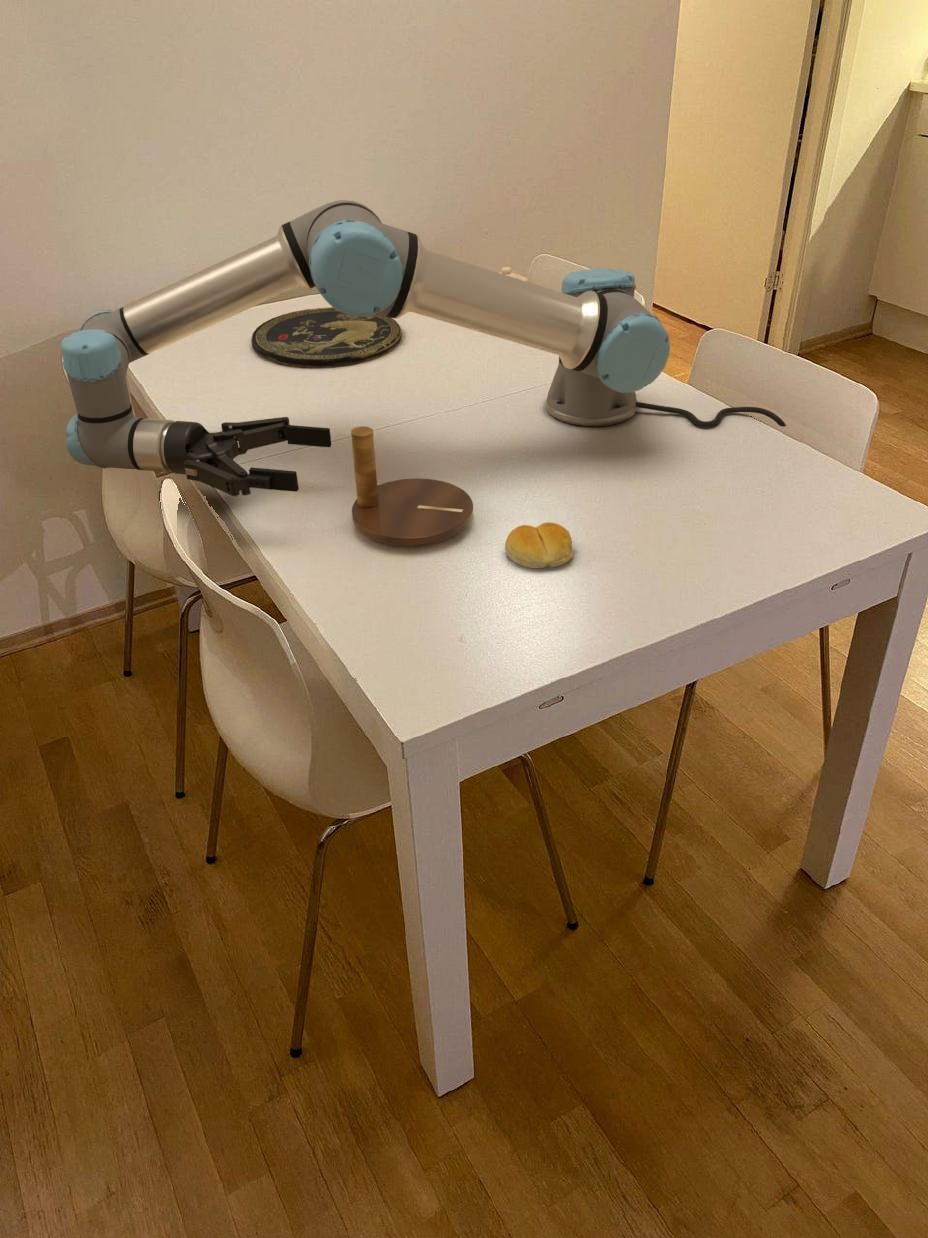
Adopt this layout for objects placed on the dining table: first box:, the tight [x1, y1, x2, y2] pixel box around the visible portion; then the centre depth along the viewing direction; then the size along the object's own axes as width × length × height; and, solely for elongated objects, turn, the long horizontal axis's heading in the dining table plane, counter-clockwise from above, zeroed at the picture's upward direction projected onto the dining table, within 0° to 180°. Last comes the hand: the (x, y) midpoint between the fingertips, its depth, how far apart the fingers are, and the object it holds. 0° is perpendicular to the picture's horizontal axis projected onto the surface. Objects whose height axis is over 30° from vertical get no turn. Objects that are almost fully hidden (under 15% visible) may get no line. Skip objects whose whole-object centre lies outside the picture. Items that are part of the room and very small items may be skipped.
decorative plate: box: [251, 306, 403, 368], centre depth 202 cm, size 30×2×30 cm
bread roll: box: [504, 521, 575, 569], centre depth 134 cm, size 8×9×4 cm
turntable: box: [350, 425, 474, 546], centre depth 138 cm, size 17×17×12 cm
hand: (314, 458), depth 140 cm, fingers open, 13 cm apart
